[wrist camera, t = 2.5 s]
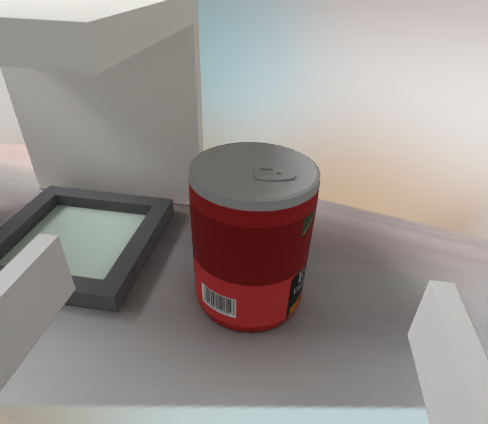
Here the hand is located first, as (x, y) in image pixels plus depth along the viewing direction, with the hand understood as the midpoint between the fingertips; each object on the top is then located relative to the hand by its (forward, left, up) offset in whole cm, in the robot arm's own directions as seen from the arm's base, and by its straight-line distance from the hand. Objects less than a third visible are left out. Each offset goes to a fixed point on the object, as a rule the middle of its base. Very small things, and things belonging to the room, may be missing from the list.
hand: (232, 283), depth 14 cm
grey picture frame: (-21, 0, -12) cm, 24 cm away
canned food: (-7, +8, -12) cm, 16 cm away
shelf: (-21, 0, -12) cm, 24 cm away
